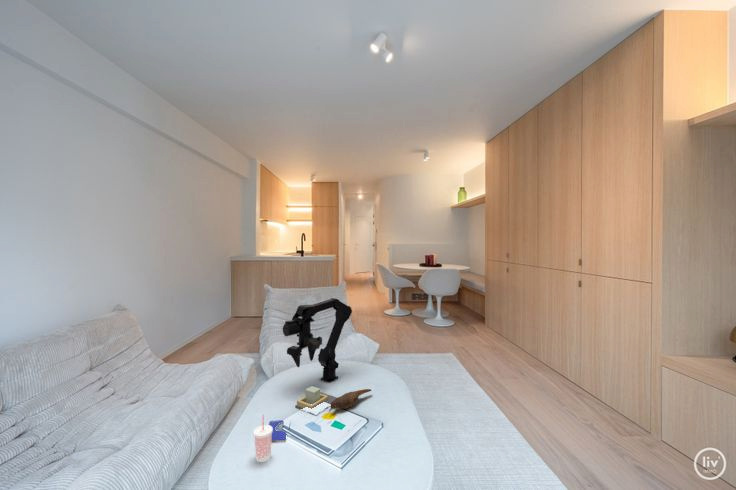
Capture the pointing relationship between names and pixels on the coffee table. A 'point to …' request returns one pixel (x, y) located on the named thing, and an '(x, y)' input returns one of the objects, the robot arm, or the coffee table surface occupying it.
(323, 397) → the socket dock
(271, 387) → the coffee table surface
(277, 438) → the hard drive
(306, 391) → the block
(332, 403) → the bird sculpture
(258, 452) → the beverage cup
